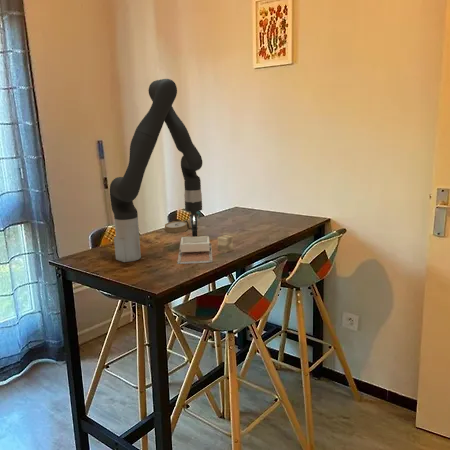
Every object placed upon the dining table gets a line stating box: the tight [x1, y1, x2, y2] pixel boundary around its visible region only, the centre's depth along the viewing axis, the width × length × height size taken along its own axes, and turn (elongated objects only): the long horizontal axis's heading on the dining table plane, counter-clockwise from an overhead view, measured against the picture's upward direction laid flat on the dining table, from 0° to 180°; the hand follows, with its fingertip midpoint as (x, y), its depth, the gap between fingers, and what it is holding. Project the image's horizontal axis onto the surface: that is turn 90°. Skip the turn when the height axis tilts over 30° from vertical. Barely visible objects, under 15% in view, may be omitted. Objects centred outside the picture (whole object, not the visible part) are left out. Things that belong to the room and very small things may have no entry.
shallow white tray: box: [178, 235, 212, 253], centre depth 200 cm, size 12×13×4 cm
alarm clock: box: [163, 218, 192, 234], centre depth 237 cm, size 11×5×15 cm
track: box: [176, 244, 214, 265], centre depth 195 cm, size 25×14×1 cm, turn 3°
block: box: [217, 234, 234, 254], centre depth 198 cm, size 4×4×6 cm
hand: (194, 238), depth 209 cm, fingers closed
